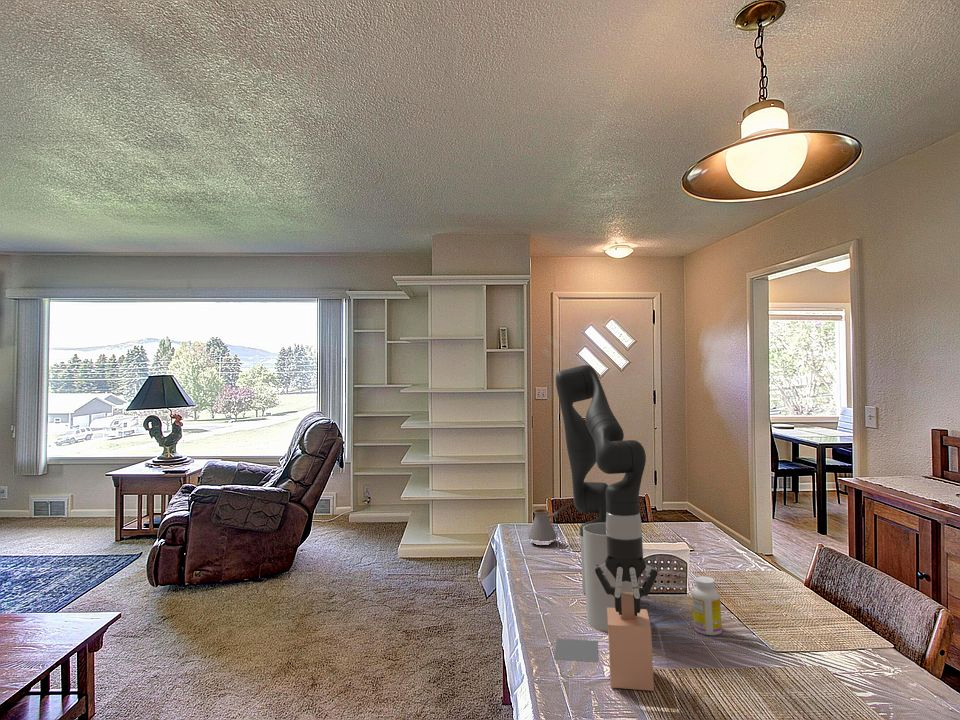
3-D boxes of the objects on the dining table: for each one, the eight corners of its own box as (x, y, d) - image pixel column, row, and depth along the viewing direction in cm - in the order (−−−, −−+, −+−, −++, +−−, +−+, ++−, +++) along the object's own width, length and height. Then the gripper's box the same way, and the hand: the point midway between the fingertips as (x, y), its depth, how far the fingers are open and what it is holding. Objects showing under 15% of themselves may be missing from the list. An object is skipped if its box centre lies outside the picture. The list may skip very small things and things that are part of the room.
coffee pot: (535, 549, 205) (533, 510, 206) (523, 541, 216) (522, 504, 217) (584, 542, 212) (582, 504, 213) (570, 534, 223) (569, 498, 224)
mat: (597, 643, 131) (597, 641, 131) (598, 664, 121) (598, 662, 121) (556, 640, 133) (556, 638, 133) (554, 661, 123) (554, 659, 123)
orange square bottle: (649, 668, 117) (645, 587, 118) (653, 690, 109) (649, 603, 109) (609, 665, 119) (606, 585, 120) (610, 687, 110) (607, 601, 111)
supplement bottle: (720, 626, 137) (718, 575, 138) (723, 638, 131) (720, 585, 132) (693, 623, 140) (690, 573, 140) (694, 634, 133) (691, 583, 134)
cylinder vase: (608, 639, 133) (603, 538, 134) (577, 620, 144) (573, 527, 145) (645, 627, 138) (640, 530, 139) (612, 609, 149) (608, 520, 151)
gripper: (655, 528, 117) (659, 608, 117) (591, 527, 120) (594, 605, 120) (659, 538, 110) (663, 623, 109) (591, 537, 113) (594, 619, 112)
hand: (627, 613), depth 114 cm, fingers closed on orange square bottle, 2 cm apart
